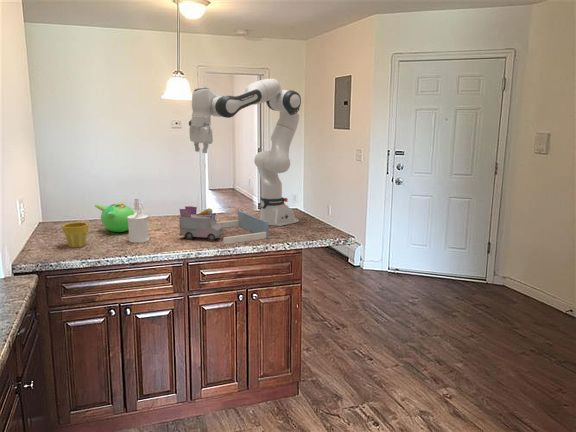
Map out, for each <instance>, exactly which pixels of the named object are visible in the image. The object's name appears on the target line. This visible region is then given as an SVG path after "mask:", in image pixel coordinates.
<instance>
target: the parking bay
mask: <svg viewBox="0 0 576 432" xmlns="http://www.w3.org/2000/svg"><path fill="white" fill-rule="evenodd" d="M216 223H217V224H219V225H220V226H222V227H223V229H227V228H233V227H241V228H243V229H244V230H247V231H249V232H251V233H248V234H247V233H246V234H241V235H235V236H234V235H233V236H226V237H222V238H223V242H222V243H223V245H224V246H225V245H230V244H238V243H243V242H250V241H252V242H253V241H258V240H264V239H269V225H268V222H267V221H264V220H262V219H260V217H257V216H254V215H251V214H249V213H247V212H244V211H242V210H237V220H228V221H227V220H225V221H219V222H218V221H216Z"/></svg>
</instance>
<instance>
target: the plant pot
mask: <svg viewBox="0 0 576 432" xmlns="http://www.w3.org/2000/svg"><path fill="white" fill-rule="evenodd" d="M88 232H89V224H88V223H87V222H83V221H82V222H80V221H78V222H68V223H65V224H63V225H62V233H63V234H64V235H65V238H66V242H67V244H68V247H69V248H72V249H73V248H75V249H76V248H82V247H85V246H86V241H87V234H88Z"/></svg>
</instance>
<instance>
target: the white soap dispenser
mask: <svg viewBox="0 0 576 432" xmlns="http://www.w3.org/2000/svg"><path fill="white" fill-rule="evenodd" d="M133 204H134V205H133V206H134V208H133V211H134V215H130V216H128V217H127V219H128V229H129V230H128V242H130V243H134V244H137V243H138V244H139V243H145V242H148V241H149V240H150V237H149V226H148V225H149V224H148V223H149V220H148V219H149V218H148V217H149V216H148V215H147V214H144V211H145V209H144V205H143V204H140V200H139V198H138V197H135V198H134V202H133ZM141 208H142V211H141Z"/></svg>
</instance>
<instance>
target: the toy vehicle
mask: <svg viewBox="0 0 576 432" xmlns="http://www.w3.org/2000/svg"><path fill="white" fill-rule="evenodd" d="M197 208H198V207H197V206H187V205H186V206H184V208H179V214H180V215H179V217H178V218H179V234H178V235H179V236H180V237H183V236H184V239H187V240H193V239H194V237H195V238H207V239H208V240H209V241H210V242H214V241H215V240H216V239H219V238H220V237H221V236H223V235H224V234H225V233H224V230H223V229H224V228H223V227H222V226H220V225H219V224H217V218H216V216H217V213H216V212H213V209H212V208H207V209H205V210H203V211H201V212H199V213H197Z"/></svg>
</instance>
